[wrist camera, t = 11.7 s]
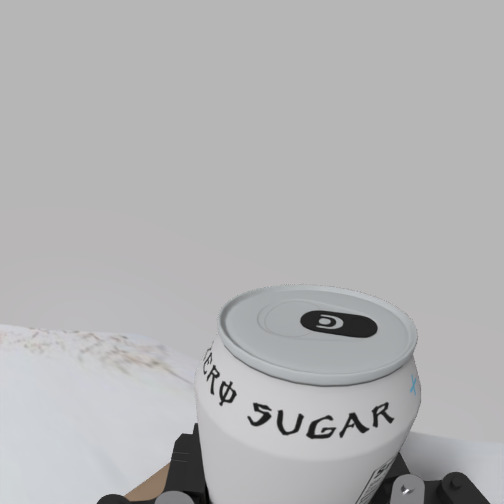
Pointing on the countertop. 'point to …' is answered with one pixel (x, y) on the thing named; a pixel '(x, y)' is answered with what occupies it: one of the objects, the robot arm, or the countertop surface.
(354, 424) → the energy drink can
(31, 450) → the countertop surface
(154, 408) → the countertop surface
